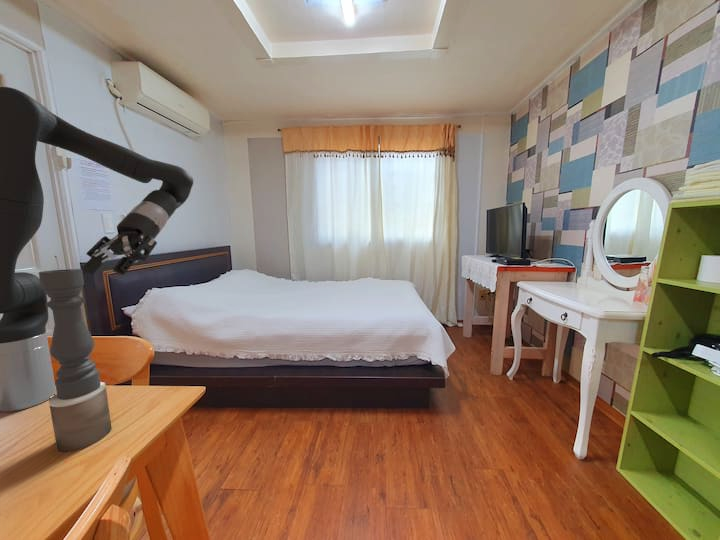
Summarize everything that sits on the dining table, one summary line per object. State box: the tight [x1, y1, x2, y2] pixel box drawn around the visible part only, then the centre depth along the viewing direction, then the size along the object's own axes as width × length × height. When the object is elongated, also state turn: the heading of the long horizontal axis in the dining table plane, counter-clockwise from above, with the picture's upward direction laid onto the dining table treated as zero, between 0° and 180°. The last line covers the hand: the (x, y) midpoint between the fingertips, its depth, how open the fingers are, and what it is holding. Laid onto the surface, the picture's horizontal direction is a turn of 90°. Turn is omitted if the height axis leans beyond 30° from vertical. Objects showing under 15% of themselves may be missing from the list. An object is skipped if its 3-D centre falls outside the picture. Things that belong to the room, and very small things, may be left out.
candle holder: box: [38, 268, 101, 400], centre depth 54 cm, size 6×6×25 cm
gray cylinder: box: [48, 381, 112, 453], centre depth 56 cm, size 8×8×10 cm
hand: (101, 272), depth 60 cm, fingers open, 8 cm apart
